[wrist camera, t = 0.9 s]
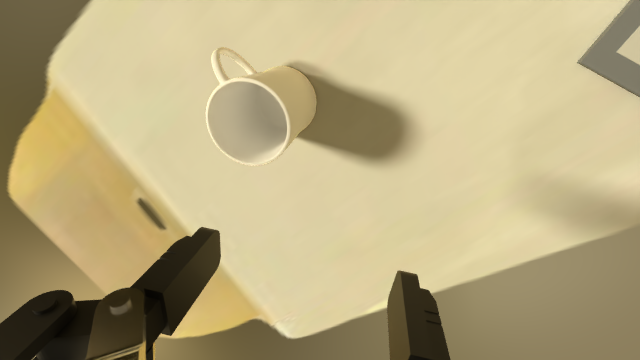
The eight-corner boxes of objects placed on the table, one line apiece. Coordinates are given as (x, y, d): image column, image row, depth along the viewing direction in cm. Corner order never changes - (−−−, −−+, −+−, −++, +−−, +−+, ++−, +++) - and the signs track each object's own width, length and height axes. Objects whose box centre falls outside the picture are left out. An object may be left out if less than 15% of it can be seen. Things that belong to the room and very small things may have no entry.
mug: (225, 63, 35) (160, 70, 24) (280, 24, 32) (234, 13, 21) (275, 144, 39) (238, 181, 28) (328, 116, 36) (310, 145, 25)
